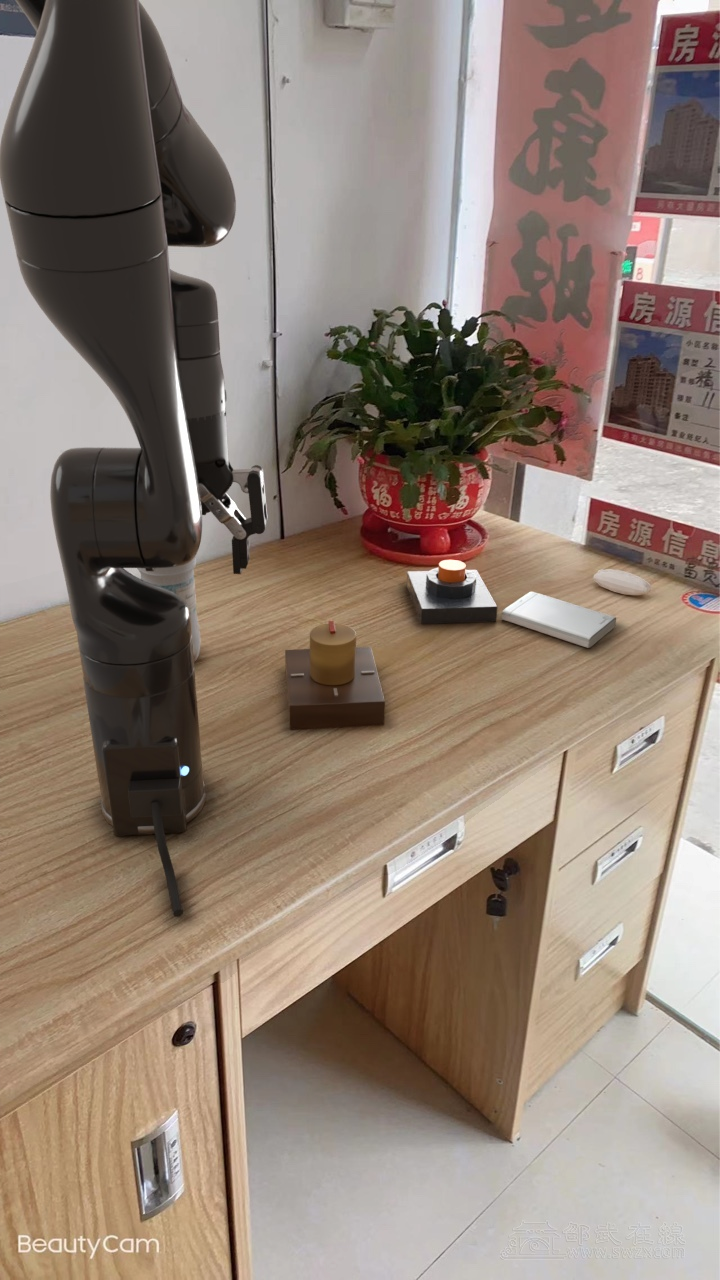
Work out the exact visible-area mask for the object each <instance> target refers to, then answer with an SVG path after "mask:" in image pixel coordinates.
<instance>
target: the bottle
mask: <svg viewBox="0 0 720 1280" xmlns="http://www.w3.org/2000/svg"><path fill="white" fill-rule="evenodd" d="M196 565H197V560H196V556H195V557H194V558H193V560H192V561H191V562H189V563H187V564H185V565H183V566H178V567H170V568H155V570H154V571H146V569H145V568H136V569H137V570H138V572H139V573H140V579H141V580H143V581H146V582H148V583H151V584H153V585H156V586H159V587H162V588H165V589H167V590H169V591H171V592H173V593H175V594H177V595H178V596H179V597H181V598H182V599H183V600H184V601H185V603H186V604H187V606H188V609H189V612H190V617H191V629H192V644H193V657H194V662H195V661H196V660H197V659H198V658H199V655H200V652H201V641H202V640H201V631H200V623H199V617H198V612H197V611H198V610H197V597H196V584H195V583H196V582H195V572H194V571H195V570H194V569H195V568H196Z"/></svg>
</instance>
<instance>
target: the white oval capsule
mask: <svg viewBox="0 0 720 1280" xmlns="http://www.w3.org/2000/svg"><path fill="white" fill-rule="evenodd" d="M592 580H593V581H594V582H595V583H596V584H598V585H599V586H600V587H602V588H604V589H606V590H609V591H611V592H614V593H617V594H622V595H628V596H642V595H646V594H648V592H650V591H652V585H651V583H649V582H648V581H647V580H645V579H644V578H643V577H640V576H638V575H636V574H634V573H631V572H628V571H624V570H621V569H610V568H607V569H603V568H601V569H599V570H598V571H597V572H596V573H594V575H593V579H592Z"/></svg>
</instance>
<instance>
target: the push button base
mask: <svg viewBox="0 0 720 1280" xmlns="http://www.w3.org/2000/svg"><path fill="white" fill-rule="evenodd" d="M438 569H439V566H438V567H435V568H431V569H430V570H416V571H415V570H414V571H413V570H412V571H411V570H410V571H407V572H406V583H405V584H406V588H407V591H408V593H409V596H410V598H411V602H412V604H413V606H414V610H415V612H416V615H417V618H418V619H419V622H420V624H421V625H431V624H432V625H433V624H459V623H461V624H462V623H489V622H490V623H492V622H493V623H494V622H497V615H498V614H497V613H498V605H497V603H496V602H495V599H494V598H493V596H492V595H491V593H490V591H489V589H488V588H487V585H486V584H485V582H484V580H483V579H482V577H481V575H480V573H479V571H478V570H477V569H465V580H464V581H462V582H459V583H449V582H443V581H441V580H439V579H438Z"/></svg>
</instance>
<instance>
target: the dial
mask: <svg viewBox="0 0 720 1280" xmlns="http://www.w3.org/2000/svg"><path fill="white" fill-rule="evenodd" d="M356 647H357V633H356V631H355V630H354V629H353V627H350V626H349V625H346V624H343V623H335V621H334V620H328V623H323V624H320V625H317V626H315V627H313V628H312V629H311V630H310V632H309V649H310V676H311V678H312V679H313V680H314V681H316V682H318V683H320V684H324V685H341V684H345V683H348V682H350V681H351V680H352V679H353V678H354V677H355V668H356Z"/></svg>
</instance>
